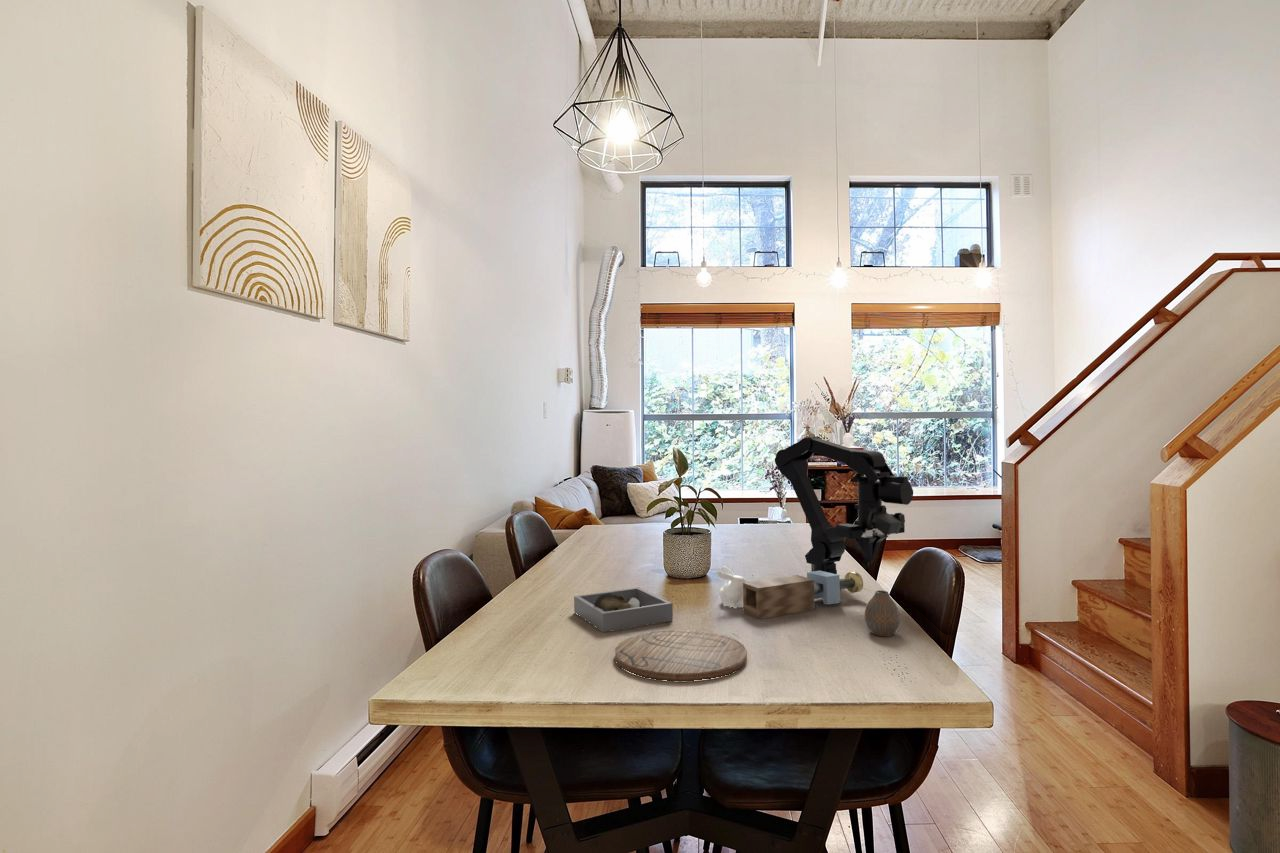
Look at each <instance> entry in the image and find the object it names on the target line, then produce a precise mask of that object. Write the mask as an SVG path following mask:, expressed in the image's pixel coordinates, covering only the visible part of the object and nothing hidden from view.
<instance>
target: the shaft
mask: <svg viewBox="0 0 1280 853" xmlns="http://www.w3.org/2000/svg"><path fill="white" fill-rule="evenodd" d="M862 577H863V576H862V575H861V574H860V573H859V572H857V571H851V572H847V573H846V574H845V575H844V578H840V591H841V590H847V591H848V592H849V593H852V594H855V593H860V592H861V591H862V590H863V589H864V580H863V578H862ZM817 593H823V584H819V583H814V594H817Z"/></svg>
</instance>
